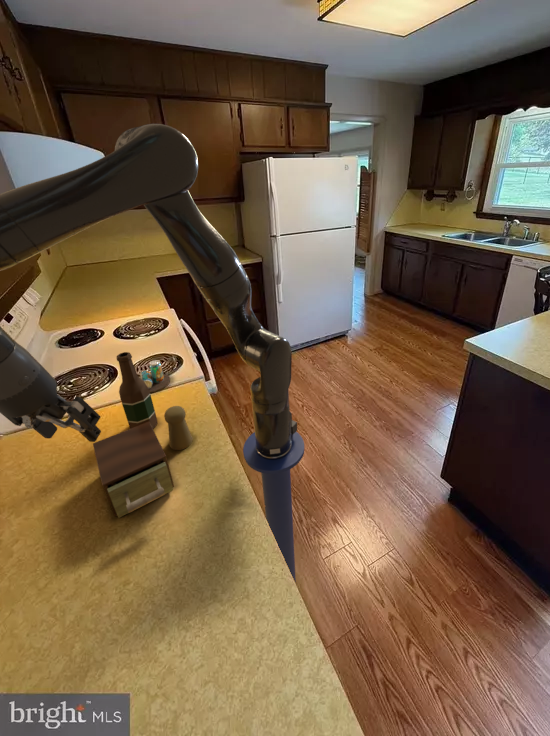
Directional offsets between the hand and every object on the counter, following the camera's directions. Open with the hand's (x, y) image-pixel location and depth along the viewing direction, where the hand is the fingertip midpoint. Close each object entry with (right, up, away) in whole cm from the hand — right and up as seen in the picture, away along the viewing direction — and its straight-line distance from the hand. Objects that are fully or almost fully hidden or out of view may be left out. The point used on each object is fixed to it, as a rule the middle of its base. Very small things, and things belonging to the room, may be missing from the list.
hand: (74, 435), depth 57 cm
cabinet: (+1, -17, +22) cm, 28 cm away
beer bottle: (-6, -9, +39) cm, 40 cm away
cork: (+7, -12, +33) cm, 36 cm away
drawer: (+3, -18, +18) cm, 26 cm away
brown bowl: (-13, 0, +59) cm, 60 cm away
